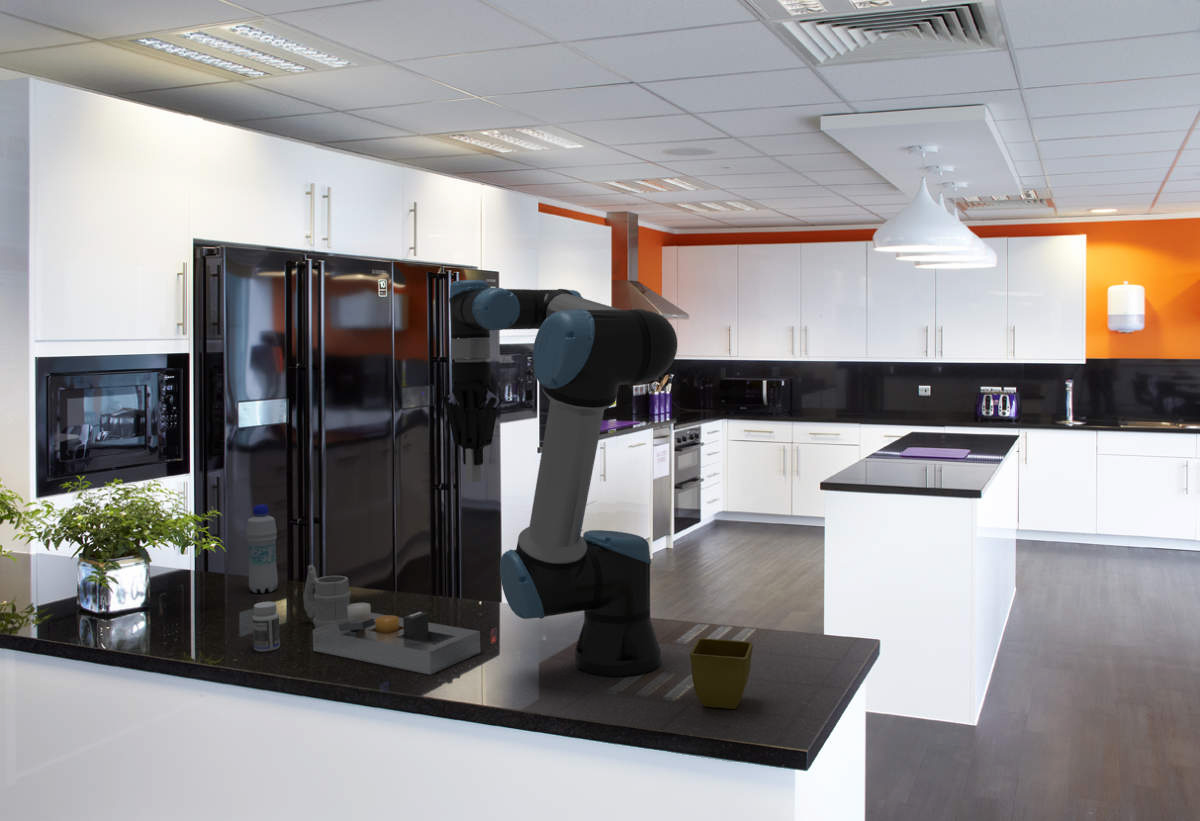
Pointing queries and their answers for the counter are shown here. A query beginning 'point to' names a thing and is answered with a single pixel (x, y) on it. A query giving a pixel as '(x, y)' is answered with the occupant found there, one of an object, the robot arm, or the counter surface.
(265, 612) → the pill bottle
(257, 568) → the bottle
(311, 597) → the mug
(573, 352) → the robot arm
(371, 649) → the panel
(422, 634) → the slider knob
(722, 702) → the flower pot
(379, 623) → the orange button
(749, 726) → the counter surface
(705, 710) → the counter surface
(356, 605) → the cream button
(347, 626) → the block
